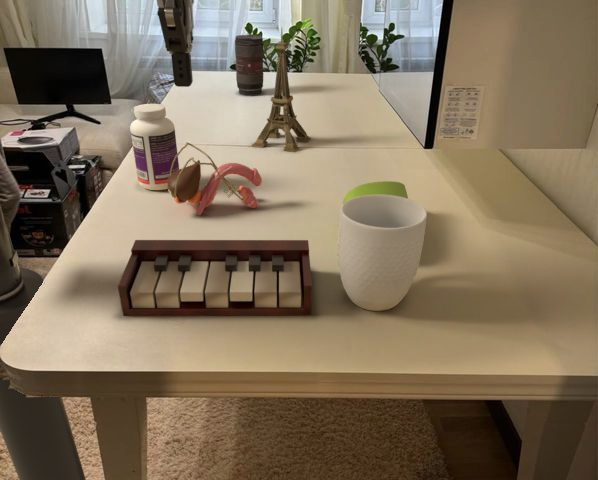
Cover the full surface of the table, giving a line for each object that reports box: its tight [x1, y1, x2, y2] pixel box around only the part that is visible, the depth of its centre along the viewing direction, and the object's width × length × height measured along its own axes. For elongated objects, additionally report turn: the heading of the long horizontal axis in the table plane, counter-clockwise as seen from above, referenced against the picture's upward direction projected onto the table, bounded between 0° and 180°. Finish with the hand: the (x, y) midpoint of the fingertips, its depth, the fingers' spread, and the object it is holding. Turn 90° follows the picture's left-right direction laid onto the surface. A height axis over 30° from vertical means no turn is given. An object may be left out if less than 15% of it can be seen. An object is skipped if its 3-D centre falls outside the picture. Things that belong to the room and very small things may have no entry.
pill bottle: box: [129, 103, 180, 191], centre depth 112 cm, size 8×8×14 cm
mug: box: [337, 194, 428, 312], centre depth 80 cm, size 15×11×13 cm
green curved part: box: [341, 180, 409, 206], centre depth 97 cm, size 8×12×20 cm
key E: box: [180, 261, 209, 301], centre depth 81 cm, size 3×8×1 cm, turn 2°
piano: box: [117, 239, 313, 317], centre depth 82 cm, size 25×12×5 cm, turn 92°
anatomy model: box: [167, 142, 263, 216], centre depth 105 cm, size 10×14×15 cm
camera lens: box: [234, 34, 265, 96], centre depth 172 cm, size 8×8×15 cm
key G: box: [230, 261, 254, 301], centre depth 81 cm, size 3×8×1 cm, turn 2°
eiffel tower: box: [251, 28, 312, 153], centre depth 131 cm, size 11×11×25 cm
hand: (183, 85), depth 77 cm, fingers closed
